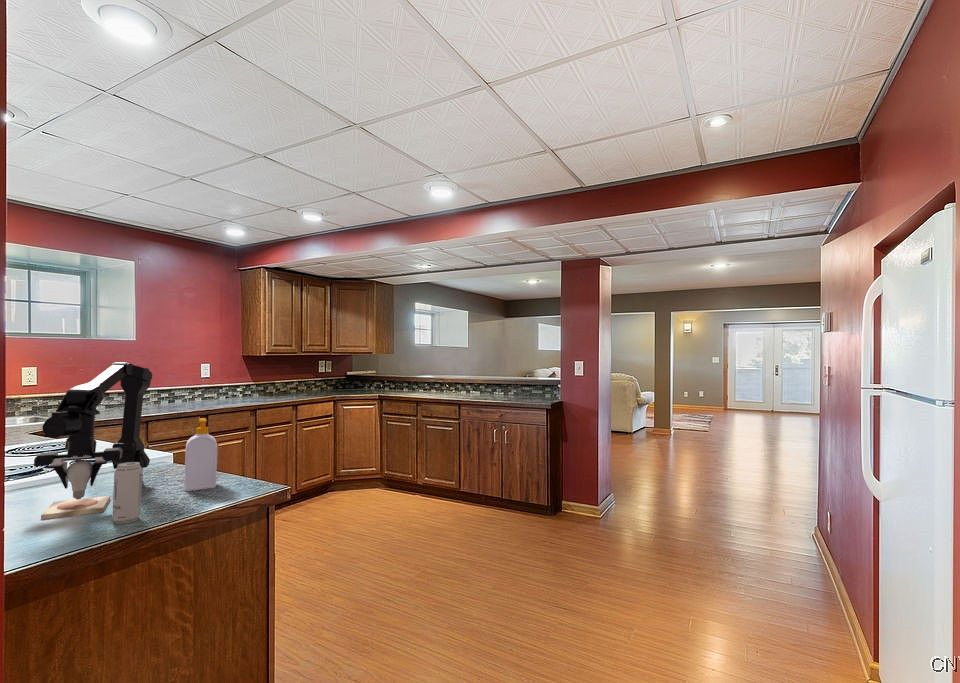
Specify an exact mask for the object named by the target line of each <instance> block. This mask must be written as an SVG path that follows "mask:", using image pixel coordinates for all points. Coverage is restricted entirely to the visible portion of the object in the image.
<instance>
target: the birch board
mask: <svg viewBox="0 0 960 683" xmlns="http://www.w3.org/2000/svg"><path fill="white" fill-rule="evenodd" d="M110 501H111V495H104V496H94V497H85V498H84V497H83V498H81V499H76V498H74V499H68V500H59V501H53V502H52V503H51V504H50V505H49V506H47V508H46V509H45V510H44V511H43V512H42V514H41V515H40V520H47V519H48V518H49V519H56V518H65V517H64V516H66V517H72V515H74V516H80V515H79V514H82V515H89V514H98V513H104V510H105V509H106V507H107V506H108V504H109V503H110Z"/></svg>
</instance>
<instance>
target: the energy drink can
mask: <svg viewBox="0 0 960 683" xmlns="http://www.w3.org/2000/svg"><path fill="white" fill-rule="evenodd" d="M113 474H114V475H113V492H112V495H113V496H112V497H113V498H112V516H111V520H112V521H114V524H116V525H124V524H130V523H133V522H136V521H138V519H139V517H140V516H141V514H142V513H141V511H142V510H141V508H142V490H143V489H142V488H143V484H142V467H141V466H140V463H139V462H127V463H121V464H118V467H117V469H114V472H113Z"/></svg>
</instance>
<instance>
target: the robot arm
mask: <svg viewBox="0 0 960 683" xmlns="http://www.w3.org/2000/svg"><path fill="white" fill-rule="evenodd" d="M152 380H153V373H152V371H151V370H150V369H149V368H148V367H143V366H138V365H134V364H132V363H130V362H123V361H122V362H119V361H118V362H116V361H115V362H113V363H111V364H110V365H109V367H108V368H106V370H104V371H103V372H101V373H99V374H98V375H97V376H95V377H94V378H93V379H92V380H90V381H89V382H87V383H83V384H79V385H78V384H77V385H76V386H74V387H71V388H69V389H68V390H67V391H66V393H65V394H64V396H63V398H62V399H61V401H60V403H59V404H58V406H57V408H56V410H55V411H54V412H51V417H48V418H47V419H46V420H45V421H44V423H43V425H42V428H41V429H42V432H43V433H44V435H45V436H46V437H48V438H50V439H58V438H62V437H66V436H67V438H66V441H65V445H64V449H65V450H66V451H67V453H64V454H59V452H58V451H51V452H50V451H49V452H41V453H39V454H38V455H37V456H35V457H34V460H33V467H45V466H46V467H48V468H49V469H52V470H54V471H55V473H56V474H57V475H58V477H59V478H60V481H61V483H62V485H63V487H64V489H65V490H67V489H68V487H69V479H68V478H67V475H66V471H67V468H68V461H69V462H70V461H80V460H93V459H94V462H93V463H92V465H93V467H92V474H91V478H90V479H89V482H90V484H89V486H90V487H93V485H94V483H95V481H96V478H97V476H98V474H99V471H100V469H101V468H102V466H103V465H106V464H107V463H108V462H110V461H112V468H113V470H116V469H117V467H118V464H121V463H127V462H139V463H140V466H141V467H142V485H143V484H144V480H143V479H144V469H145V468H148V467H149V466H150V462H151V459H150V457H149V456H148V454H147V453H146V452H145V444H144V442H143V440H142V439H141V438H140V433H141V422H142V411H143V402H144V401H143V400H144V395H145V393H146V391H147V390H148V389H149V388H150V387H151V382H152ZM118 382H120V387H121V389H122V391H123V392H124V394H125V395H124V405H123V414H122V426H121V434H120V435H121V436H120V438H119V439H118V441H116V442H114V443H113V444H112V447H108V448H105V449H104V450H103V451H96V450H97V449H96V448H97V440H96V439H95V426H96V425H95V424H96V416H97V415H99V414H100V413H101V412H100V411H99V410H98V409H97V407H98V406H99V405H100V403H101V402H102V401H103V400H104V399H105V398H104V397H105V396H104V394H105V393H107V391H109V390H110V389H111V388H112V387H114V386H115V385H116V384H117V383H118Z"/></svg>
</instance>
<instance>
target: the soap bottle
mask: <svg viewBox="0 0 960 683" xmlns="http://www.w3.org/2000/svg"><path fill="white" fill-rule="evenodd" d="M207 421H208V420H207V418H205V417H202V418H201V417H200V418H199V420H198V422H199V424H200V425H199V426H198V427H196V429H195V435H192V436H191V437H190V438H189V439H188V440H187V441H186V444H185V459H184V461H185V462H184V480H183V481H184V482H183V484H184V485H183V488H184V491H185V492H190V491H191V492H192V490H193V491H198V490H200V491H201V490H208V489H209V488H210V489H214V488H217V471H218V468H217V467H218V447H219V446H218V442H217V440H216V438H215V437H214V436H213V435H212V434H211V435H210V433H209V426H206V422H207Z"/></svg>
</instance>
